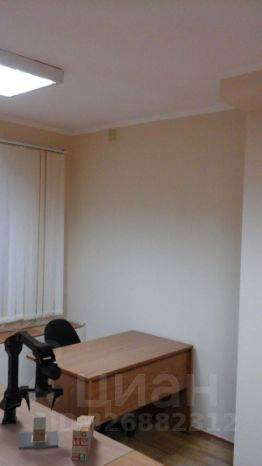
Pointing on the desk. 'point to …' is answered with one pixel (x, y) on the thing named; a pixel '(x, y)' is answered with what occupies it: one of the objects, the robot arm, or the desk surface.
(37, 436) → the walnut block
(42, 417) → the sage block
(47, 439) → the blueprint board
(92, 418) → the stack of blocks
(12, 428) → the desk surface
